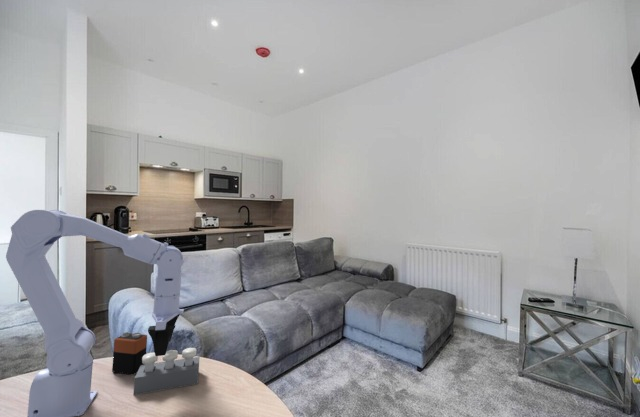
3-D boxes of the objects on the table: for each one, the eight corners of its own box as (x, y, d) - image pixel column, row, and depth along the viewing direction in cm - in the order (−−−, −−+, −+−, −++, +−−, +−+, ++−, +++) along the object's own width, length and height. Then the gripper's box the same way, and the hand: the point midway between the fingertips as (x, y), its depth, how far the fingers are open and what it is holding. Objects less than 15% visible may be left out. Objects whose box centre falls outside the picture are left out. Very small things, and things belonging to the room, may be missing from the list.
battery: (133, 375, 71) (136, 337, 72) (110, 373, 72) (113, 335, 73) (146, 367, 76) (148, 331, 76) (124, 364, 77) (127, 329, 77)
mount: (133, 395, 64) (134, 377, 64) (139, 380, 69) (140, 364, 70) (197, 383, 69) (198, 368, 69) (198, 371, 75) (199, 356, 75)
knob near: (139, 381, 65) (140, 360, 66) (142, 374, 69) (144, 353, 69) (155, 379, 67) (156, 358, 67) (158, 371, 70) (159, 351, 70)
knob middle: (160, 378, 67) (161, 357, 67) (162, 371, 70) (164, 351, 70) (175, 376, 68) (176, 355, 69) (177, 369, 72) (178, 349, 72)
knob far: (180, 375, 69) (181, 354, 69) (181, 368, 72) (183, 348, 72) (194, 373, 70) (196, 352, 70) (195, 366, 73) (196, 346, 73)
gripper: (181, 301, 64) (177, 359, 63) (187, 286, 77) (184, 334, 76) (146, 303, 61) (142, 364, 60) (159, 287, 75) (155, 337, 74)
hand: (163, 347), depth 68 cm, fingers open, 7 cm apart
